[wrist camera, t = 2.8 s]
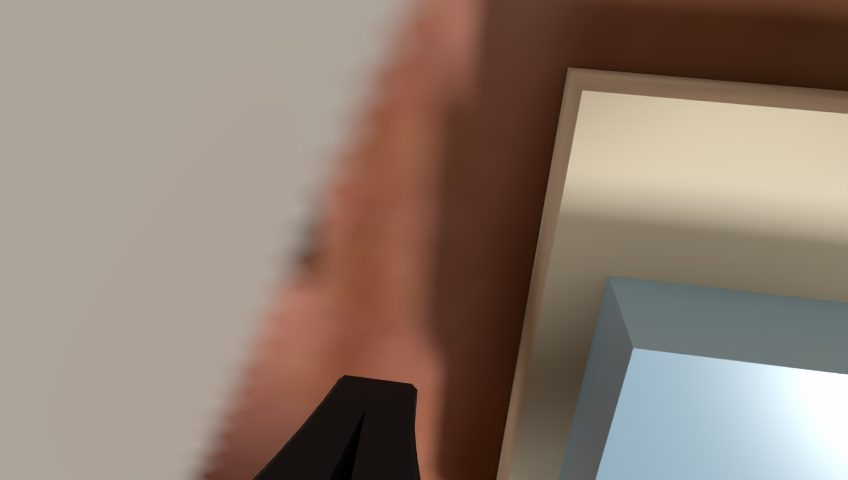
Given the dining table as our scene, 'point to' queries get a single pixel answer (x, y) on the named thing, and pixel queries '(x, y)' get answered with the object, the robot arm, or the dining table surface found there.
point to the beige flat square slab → (671, 220)
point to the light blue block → (711, 387)
